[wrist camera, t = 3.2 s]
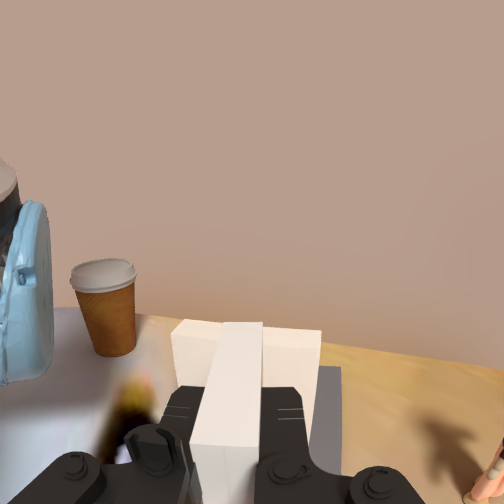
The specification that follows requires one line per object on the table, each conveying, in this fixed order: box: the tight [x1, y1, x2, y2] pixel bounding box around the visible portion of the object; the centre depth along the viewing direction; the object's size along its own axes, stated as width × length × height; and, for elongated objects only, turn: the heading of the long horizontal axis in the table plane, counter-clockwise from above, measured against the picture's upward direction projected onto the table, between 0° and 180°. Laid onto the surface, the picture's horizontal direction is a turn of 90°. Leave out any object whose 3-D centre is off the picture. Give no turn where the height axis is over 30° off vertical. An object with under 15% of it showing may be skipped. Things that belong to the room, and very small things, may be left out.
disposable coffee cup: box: [70, 258, 137, 357], centre depth 41 cm, size 10×10×12 cm
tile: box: [171, 319, 321, 446], centre depth 23 cm, size 10×3×12 cm, turn 78°
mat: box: [308, 366, 342, 475], centre depth 29 cm, size 16×20×1 cm
